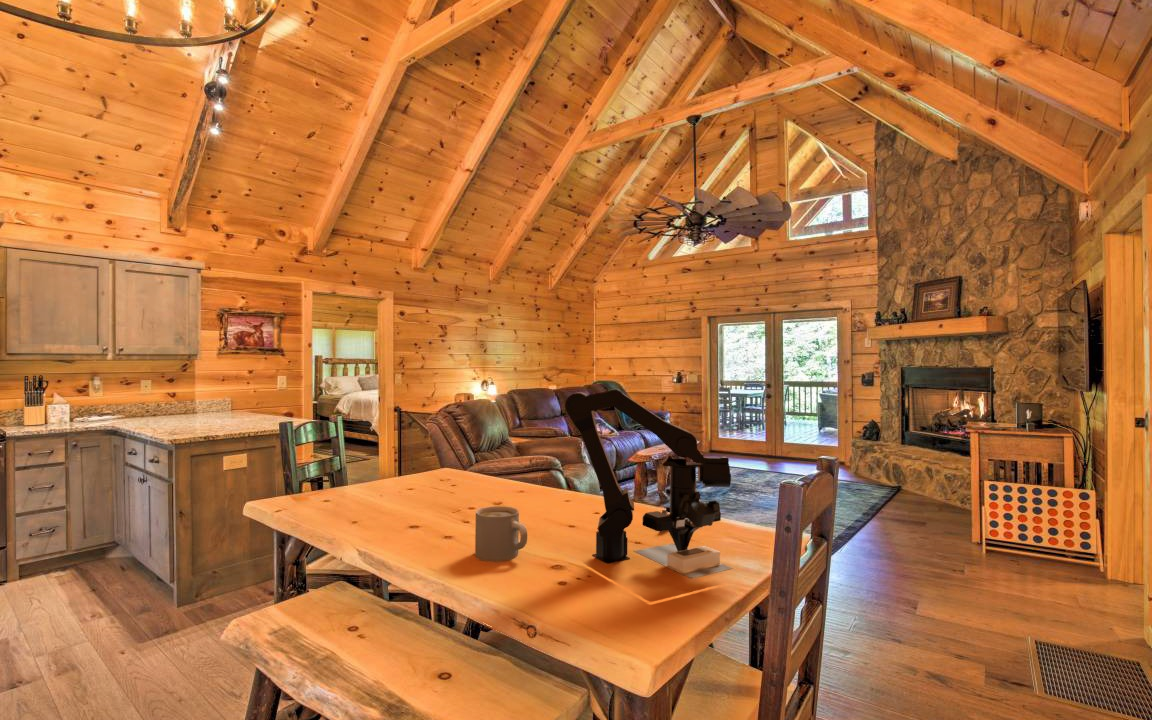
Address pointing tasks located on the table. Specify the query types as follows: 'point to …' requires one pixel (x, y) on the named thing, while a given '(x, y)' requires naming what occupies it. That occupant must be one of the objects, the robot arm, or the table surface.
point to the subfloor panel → (660, 557)
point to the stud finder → (693, 558)
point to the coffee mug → (498, 533)
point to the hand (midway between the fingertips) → (682, 555)
